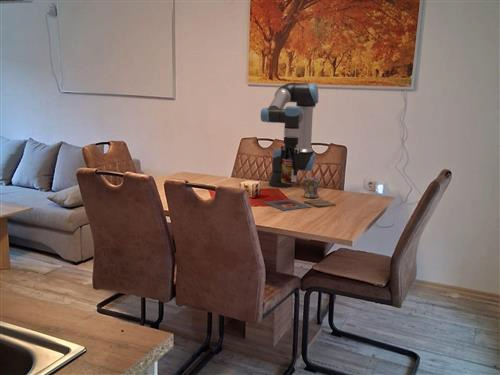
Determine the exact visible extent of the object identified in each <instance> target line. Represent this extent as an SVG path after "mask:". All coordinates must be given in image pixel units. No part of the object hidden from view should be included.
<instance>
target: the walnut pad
mask: <svg viewBox="0 0 500 375" xmlns="http://www.w3.org/2000/svg"><path fill="white" fill-rule="evenodd" d="M303 204H305V205H308V206H311V207H315V208H318V209H319V208H329V207H334V206H335V207H336V206H337V205H336V203H335V202H331V201H327V200H324V199H321V198H318V199H310V200H304V201H303Z"/></svg>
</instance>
